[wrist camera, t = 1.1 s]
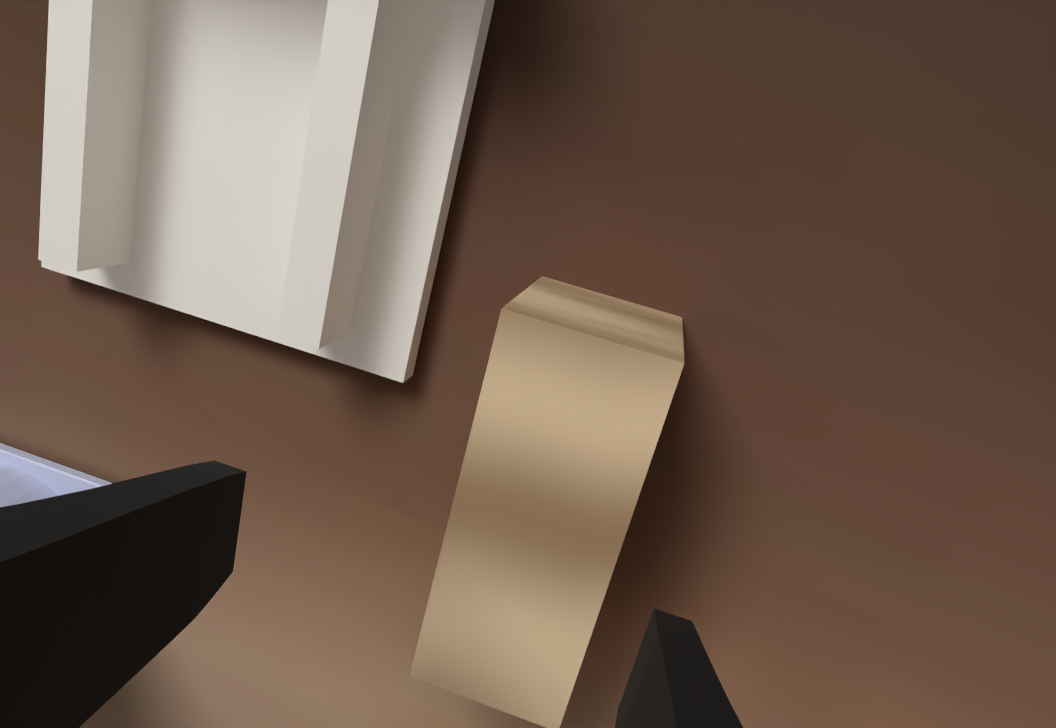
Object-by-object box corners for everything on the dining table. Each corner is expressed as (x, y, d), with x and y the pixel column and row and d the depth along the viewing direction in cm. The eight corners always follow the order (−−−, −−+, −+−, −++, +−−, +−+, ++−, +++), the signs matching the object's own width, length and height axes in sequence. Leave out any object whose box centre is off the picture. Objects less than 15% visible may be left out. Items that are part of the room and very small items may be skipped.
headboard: (412, 375, 21) (333, 437, 16) (62, 263, 23) (-108, 289, 18) (529, -161, 17) (470, -296, 12) (90, -258, 18) (-125, -415, 13)
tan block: (582, 613, 22) (558, 731, 18) (464, 571, 23) (409, 676, 18) (682, 316, 19) (684, 363, 15) (542, 275, 20) (501, 308, 15)
